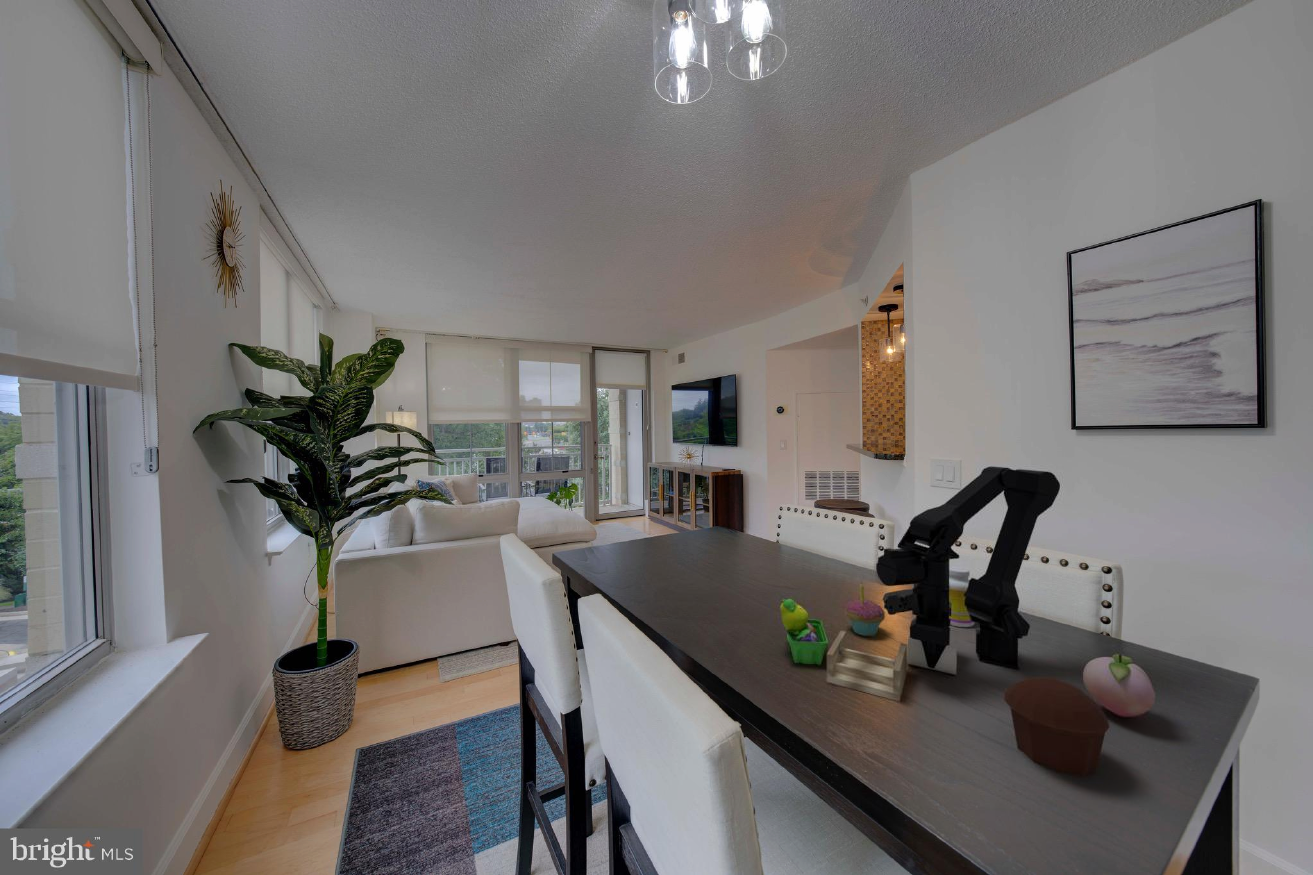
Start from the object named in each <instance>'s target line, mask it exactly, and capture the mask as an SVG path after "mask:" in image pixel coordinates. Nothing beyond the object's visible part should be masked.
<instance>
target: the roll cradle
mask: <svg viewBox="0 0 1313 875" xmlns="http://www.w3.org/2000/svg"><path fill="white" fill-rule="evenodd" d="M907 650H908V643H902V642H901V643H900V645H899V648H898V652H897V655H896V657H895V658H890V657H886V656H885V657H884V656H881V655H876V654H872V653H868V652H862V651H858V650H853V649H850V648H847V631H844V630H840V631H839V632H838V635H837V636H836V638H835V639H834V641H833V643H832V644H831V646H830V648H829V649H828V652H827V653H826V682H827V683H829V684H833V685H837V686H840V687H843V688H848V689H851V690H856V691H859V692H864V693H867V694H870V695H873V696H878V697H881V698H885V699H889V700H892V701H897V702H901V697H902V693H903V689H904V684H905V680H906V677H907V668H908V667H907V666H908V665H907V664H908V660H907Z"/></svg>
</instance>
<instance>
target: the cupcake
mask: <svg viewBox="0 0 1313 875" xmlns="http://www.w3.org/2000/svg"><path fill="white" fill-rule="evenodd" d="M859 588H860V598H858V599H854V600H853V599H852V600H851V601H849V602H847V603H846V604H845V606H844V613H845V616H846V617H847V618H848V620H850V624H851V626H852V630H853V632H854V633H855V634H858V635H860V636H864V637H873V636H876V634H877V633H878V629H879V626H880V624H881V623H882V622H883V621H884V620H885V619H886V616H885V613H886V612H885V609H883V608H882V607H881V606H880V605H879V604H878V603H875V602H874V601H872V600H870V599H866V598H865V593H864V592H865V589H864V584H863V581H861V582H860V587H859Z"/></svg>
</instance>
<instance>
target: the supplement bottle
mask: <svg viewBox="0 0 1313 875" xmlns="http://www.w3.org/2000/svg"><path fill="white" fill-rule="evenodd" d="M969 577H970V570H969V569H968V568H966V567H960V566H953V565H952V566H951V565H949V586H950V592H949V601H950V602H951V603H952V613H951V616H949V619H951V623H950V626H953V627H959V628H970V627H973V626H974V625H975V622H972V621H971V619H970V616H969V613H968V611H967V609H966V606H965V605H964V601H965V596H964V593H965V592H966V590H967V588H968V584H969V580H970V579H969Z"/></svg>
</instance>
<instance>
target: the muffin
mask: <svg viewBox="0 0 1313 875" xmlns="http://www.w3.org/2000/svg"><path fill="white" fill-rule="evenodd" d="M1003 697H1004V699H1003V700H1004V702H1005V703H1006V704H1007V705H1008V706H1009V707H1010V712H1011V717H1012V723H1013V730H1014V736H1015V741H1016V746H1017V749H1018V750H1019V751H1020V752H1022V753H1023V754H1024V755H1026V756H1027V758H1028V759H1030V760H1031V761H1032V762H1033V763H1036V764H1038V765H1041V766H1042V767H1045V768H1048V769H1050V770H1052V771H1054V772H1056V773H1058V774H1066V775H1067V774H1068V775H1072V776H1073V775H1074V776H1078V777H1085V776H1087V775H1088V774H1091V773H1095V772H1097V769H1098V766H1099V761H1100V756H1101V752H1102V748H1103V744H1104V739H1105V735H1106V732H1107V731H1108V730H1109V728H1110V723H1109V719H1108V717H1107V716H1106V715H1105V712H1104V711H1103V710H1102V708H1101V706H1099V704H1098V703H1097V701H1096V700H1094V698H1093V699H1092V697H1090V696H1089V695H1088V694H1086V693H1085V692H1084V691H1083V690H1081V689H1080V688H1078V687H1076V686H1074V685H1072V684H1070V683H1069V682H1066V681H1063V680H1060V679H1056V678H1052V677H1051V678H1050V677H1046V676H1036V677H1035V676H1034V677H1029V678H1024V679H1022V680H1020V681H1017V682H1015V683H1014V684H1012V685H1011V686H1010V687H1009V688H1008V689H1007V690H1006V691H1005V692H1004V696H1003Z"/></svg>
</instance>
